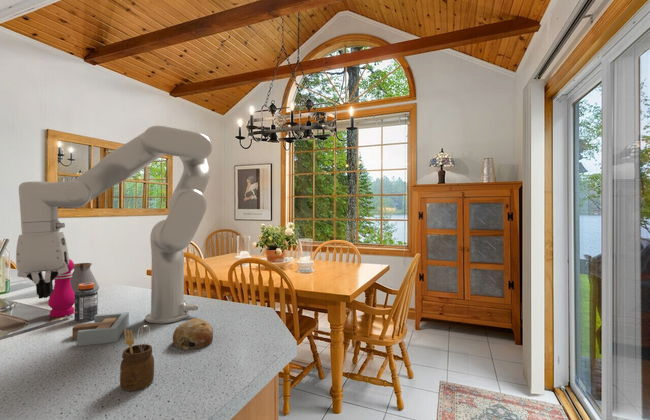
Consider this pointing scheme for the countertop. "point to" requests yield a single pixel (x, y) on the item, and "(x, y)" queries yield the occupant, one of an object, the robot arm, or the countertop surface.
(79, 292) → the pill bottle
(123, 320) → the pocket
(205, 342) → the bread roll
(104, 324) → the T block
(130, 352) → the utensil holder
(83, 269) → the coffee pot
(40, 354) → the countertop surface
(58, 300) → the pepper mill
